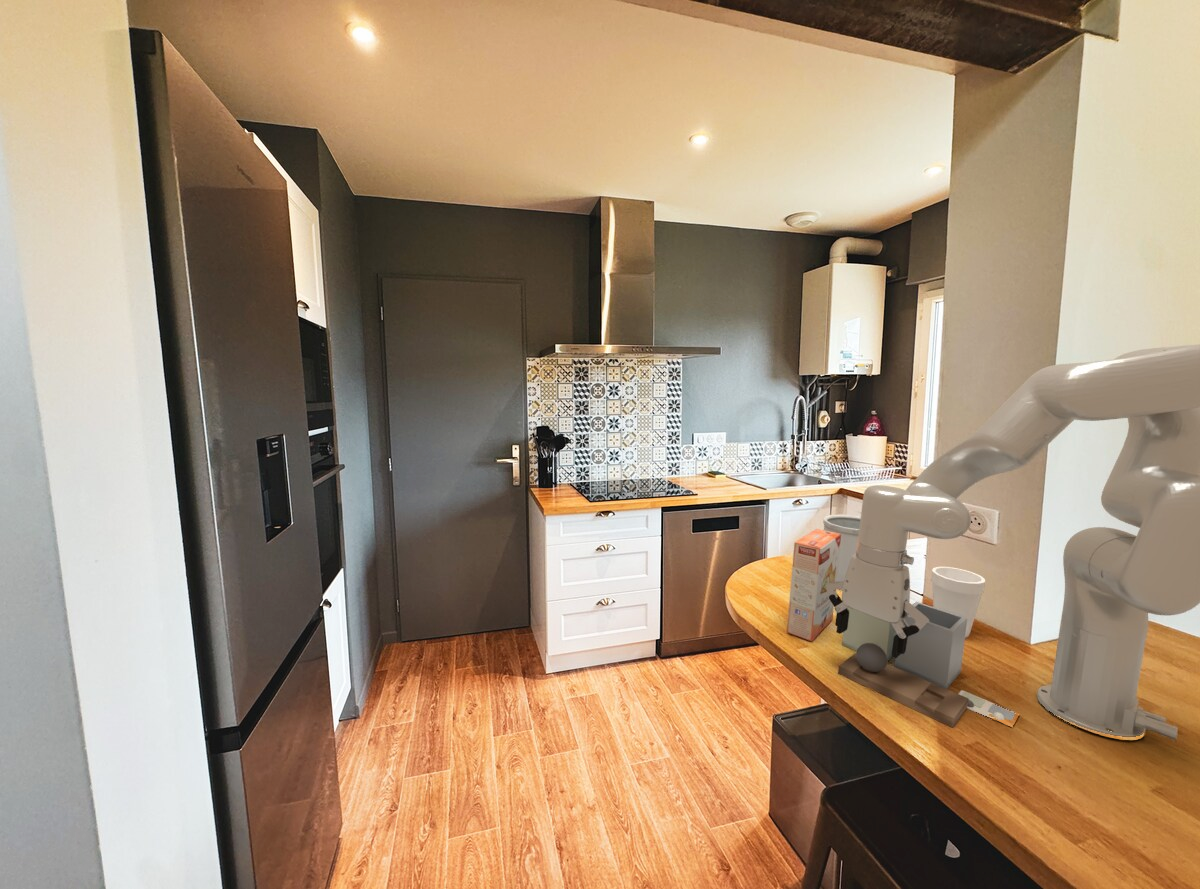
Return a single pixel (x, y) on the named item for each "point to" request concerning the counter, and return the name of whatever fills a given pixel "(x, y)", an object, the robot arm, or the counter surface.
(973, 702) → the card
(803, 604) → the cracker box
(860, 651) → the charcoal ball
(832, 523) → the utensil holder
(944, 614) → the slate pot
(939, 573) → the foam cup
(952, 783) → the counter surface
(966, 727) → the counter surface
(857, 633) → the sage pot
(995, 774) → the counter surface
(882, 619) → the robot arm
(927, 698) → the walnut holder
